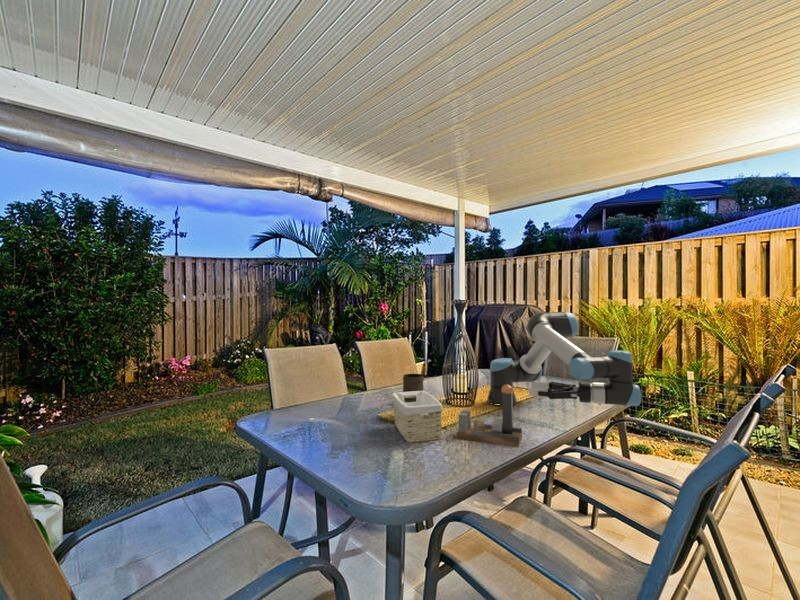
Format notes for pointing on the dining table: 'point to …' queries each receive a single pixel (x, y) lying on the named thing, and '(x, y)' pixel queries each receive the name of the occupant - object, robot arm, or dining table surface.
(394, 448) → the dining table surface
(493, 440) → the base
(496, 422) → the handle
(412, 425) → the storage basket
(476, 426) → the tan rounded cylinder
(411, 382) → the beer stein
